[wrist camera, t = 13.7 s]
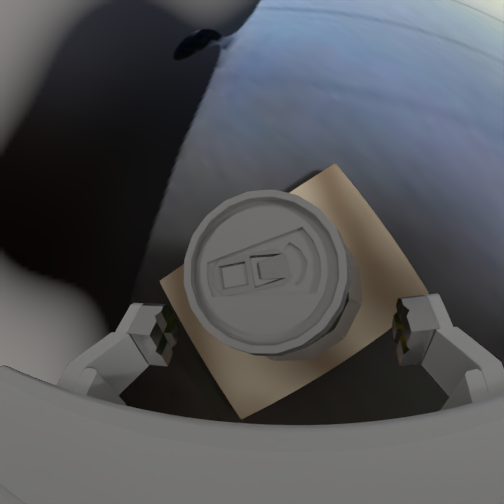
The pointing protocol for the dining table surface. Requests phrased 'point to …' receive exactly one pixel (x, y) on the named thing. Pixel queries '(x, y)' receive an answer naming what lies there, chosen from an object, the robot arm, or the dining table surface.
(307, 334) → the beer can
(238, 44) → the dining table surface
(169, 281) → the board
